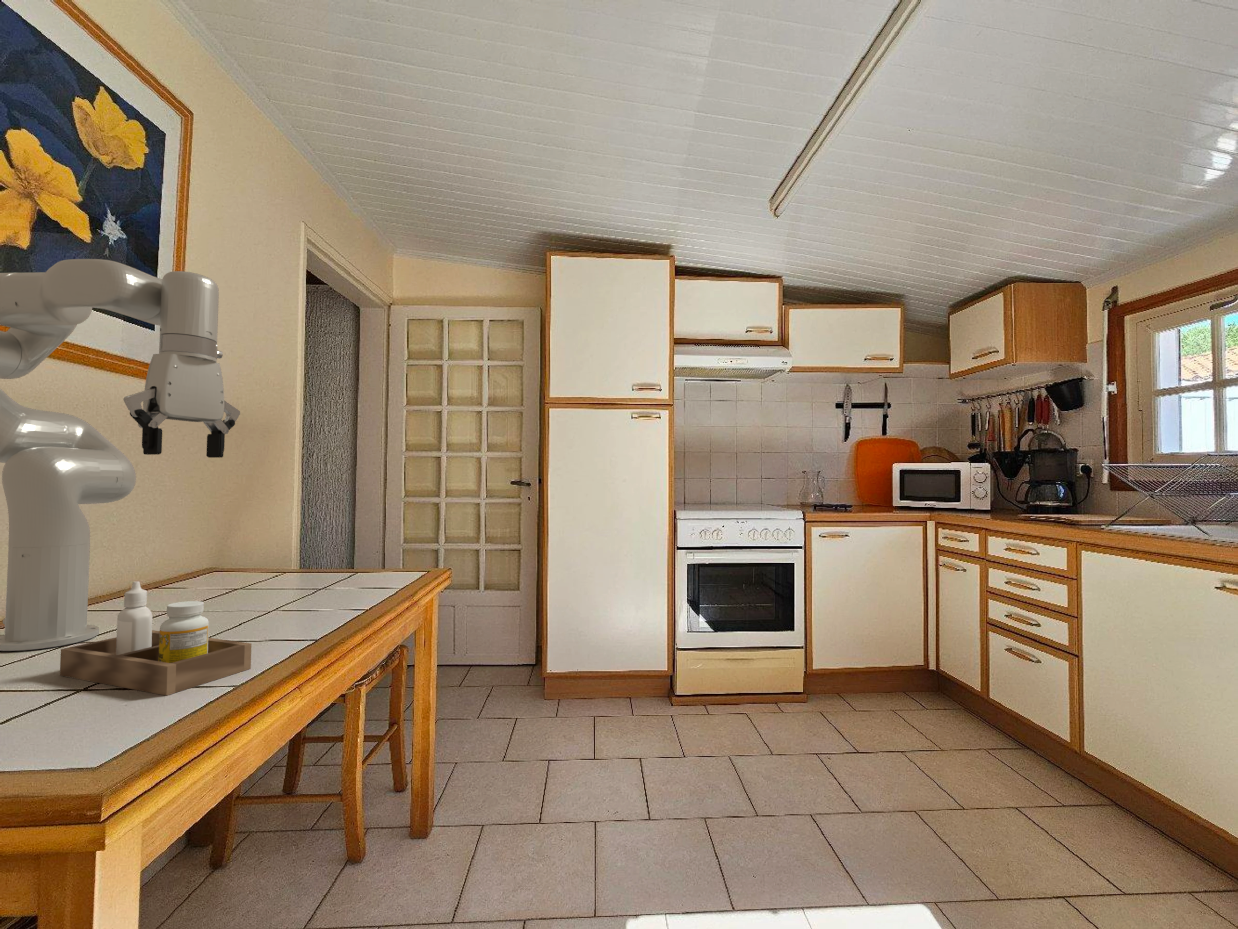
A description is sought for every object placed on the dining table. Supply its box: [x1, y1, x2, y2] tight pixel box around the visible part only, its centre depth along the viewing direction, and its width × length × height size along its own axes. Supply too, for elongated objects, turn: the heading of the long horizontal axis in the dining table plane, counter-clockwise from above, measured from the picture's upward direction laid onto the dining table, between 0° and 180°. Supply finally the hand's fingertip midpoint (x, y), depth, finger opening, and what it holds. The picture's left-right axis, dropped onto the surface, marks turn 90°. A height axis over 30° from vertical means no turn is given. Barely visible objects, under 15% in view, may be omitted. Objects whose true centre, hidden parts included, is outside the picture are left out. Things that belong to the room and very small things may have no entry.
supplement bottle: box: [158, 600, 210, 663], centre depth 78 cm, size 5×5×10 cm
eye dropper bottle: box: [116, 580, 153, 655], centre depth 81 cm, size 4×6×12 cm
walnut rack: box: [59, 629, 252, 696], centre depth 79 cm, size 21×11×4 cm, turn 71°
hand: (185, 455), depth 93 cm, fingers open, 9 cm apart
